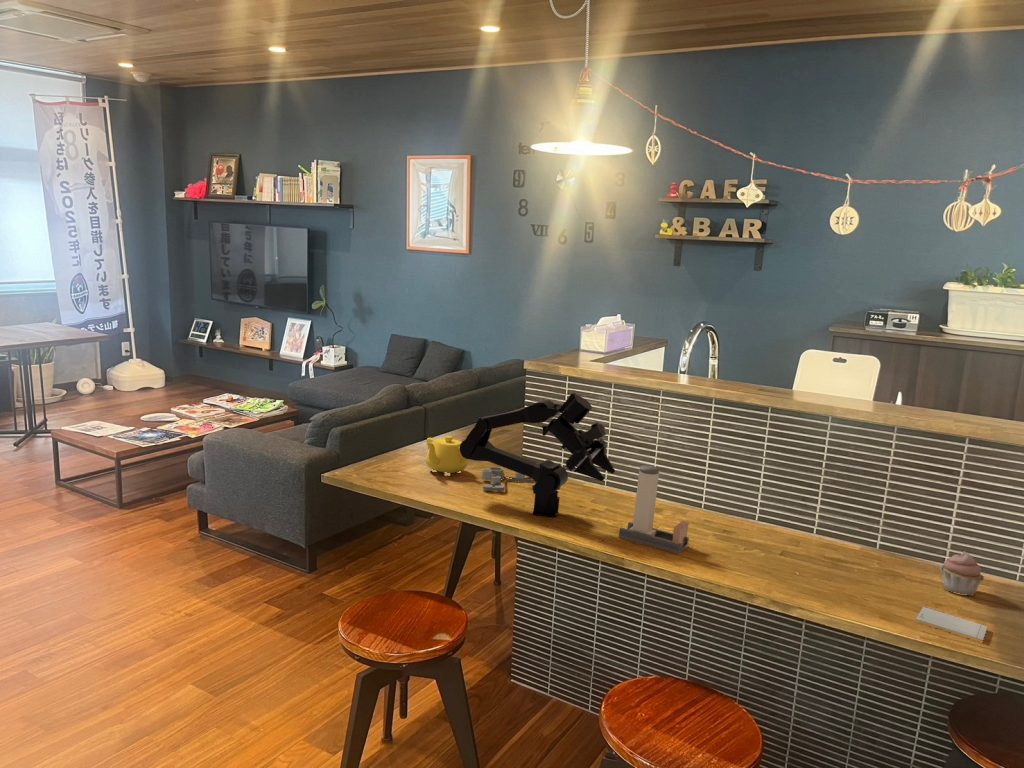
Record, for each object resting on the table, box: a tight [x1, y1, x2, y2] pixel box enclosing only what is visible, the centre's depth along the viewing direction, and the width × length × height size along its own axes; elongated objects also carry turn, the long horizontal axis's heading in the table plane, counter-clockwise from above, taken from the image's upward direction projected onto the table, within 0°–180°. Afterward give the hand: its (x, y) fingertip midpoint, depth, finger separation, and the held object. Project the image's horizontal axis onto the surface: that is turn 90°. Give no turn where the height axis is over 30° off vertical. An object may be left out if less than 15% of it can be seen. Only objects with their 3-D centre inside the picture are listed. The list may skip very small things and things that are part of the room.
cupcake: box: [939, 550, 985, 595], centre depth 179 cm, size 9×9×10 cm
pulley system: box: [481, 466, 536, 492], centre depth 238 cm, size 27×5×15 cm
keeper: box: [629, 464, 660, 536], centre depth 195 cm, size 6×5×18 cm
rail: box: [617, 520, 690, 555], centre depth 195 cm, size 16×7×6 cm, turn 59°
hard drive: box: [915, 606, 989, 641], centre depth 160 cm, size 2×8×12 cm
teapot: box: [425, 435, 469, 474], centre depth 243 cm, size 14×14×12 cm
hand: (608, 476), depth 202 cm, fingers open, 9 cm apart
